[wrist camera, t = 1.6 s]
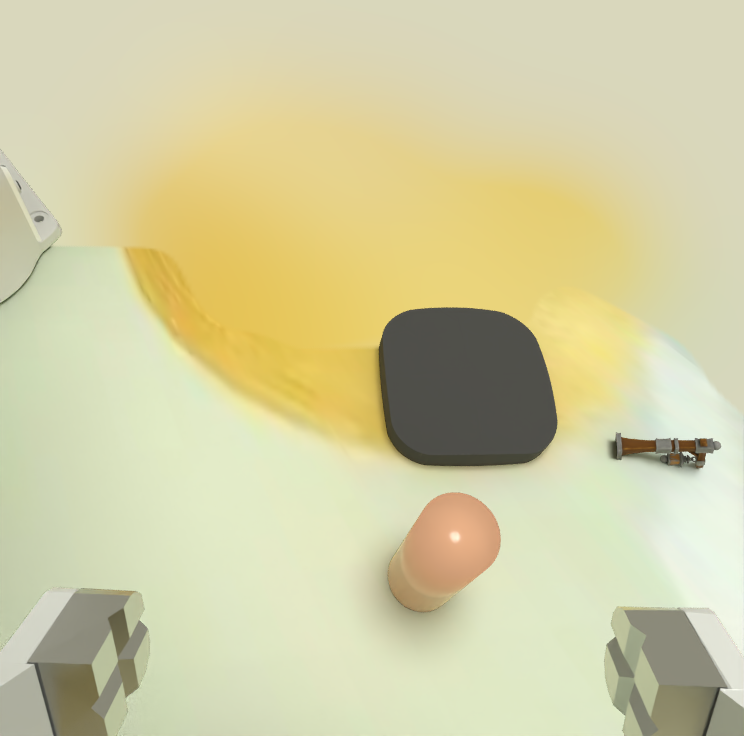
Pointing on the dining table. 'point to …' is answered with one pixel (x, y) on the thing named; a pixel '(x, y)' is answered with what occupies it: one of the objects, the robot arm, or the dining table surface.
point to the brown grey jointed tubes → (669, 449)
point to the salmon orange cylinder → (443, 551)
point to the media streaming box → (465, 388)
